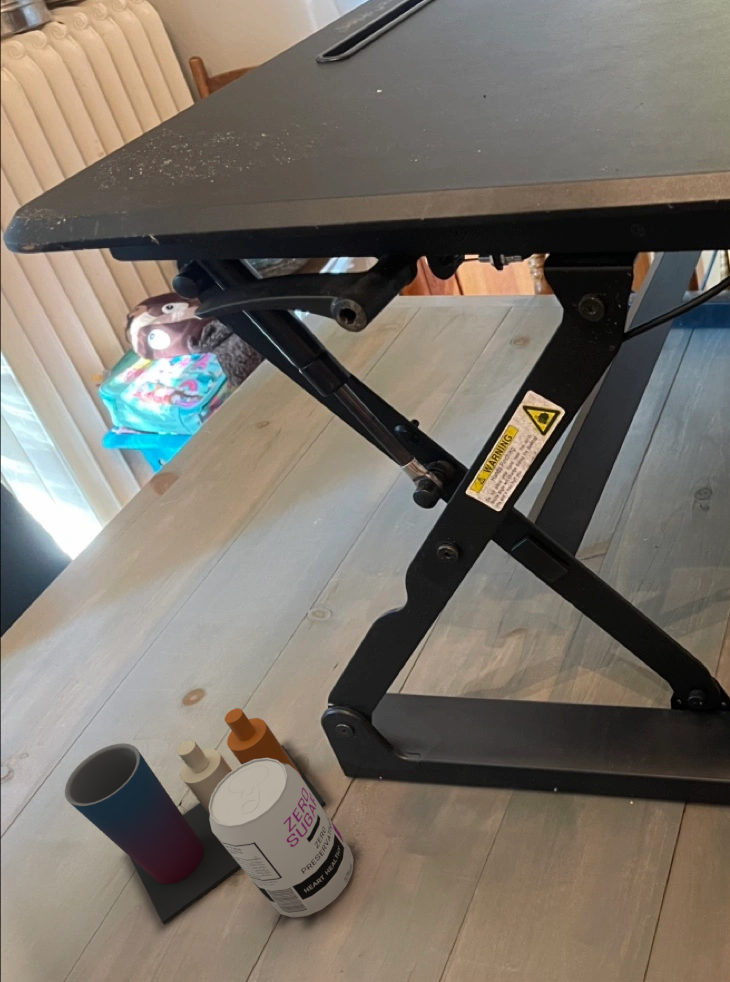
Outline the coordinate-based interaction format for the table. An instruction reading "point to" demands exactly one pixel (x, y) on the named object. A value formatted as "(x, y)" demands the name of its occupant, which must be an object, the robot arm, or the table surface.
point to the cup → (135, 812)
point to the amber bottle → (253, 739)
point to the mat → (207, 873)
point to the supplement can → (280, 836)
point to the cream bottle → (202, 770)
